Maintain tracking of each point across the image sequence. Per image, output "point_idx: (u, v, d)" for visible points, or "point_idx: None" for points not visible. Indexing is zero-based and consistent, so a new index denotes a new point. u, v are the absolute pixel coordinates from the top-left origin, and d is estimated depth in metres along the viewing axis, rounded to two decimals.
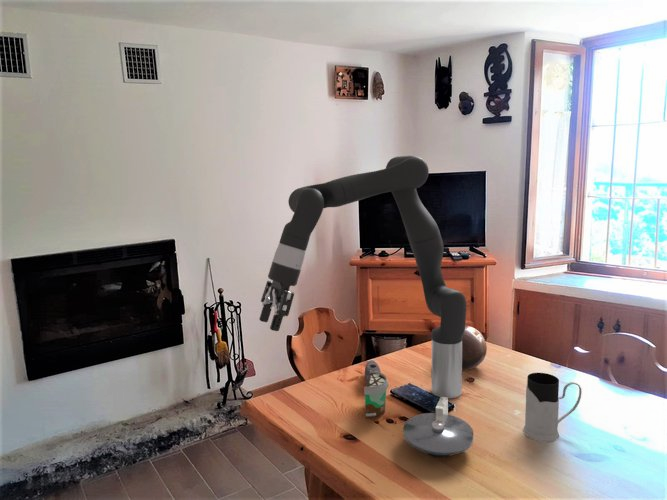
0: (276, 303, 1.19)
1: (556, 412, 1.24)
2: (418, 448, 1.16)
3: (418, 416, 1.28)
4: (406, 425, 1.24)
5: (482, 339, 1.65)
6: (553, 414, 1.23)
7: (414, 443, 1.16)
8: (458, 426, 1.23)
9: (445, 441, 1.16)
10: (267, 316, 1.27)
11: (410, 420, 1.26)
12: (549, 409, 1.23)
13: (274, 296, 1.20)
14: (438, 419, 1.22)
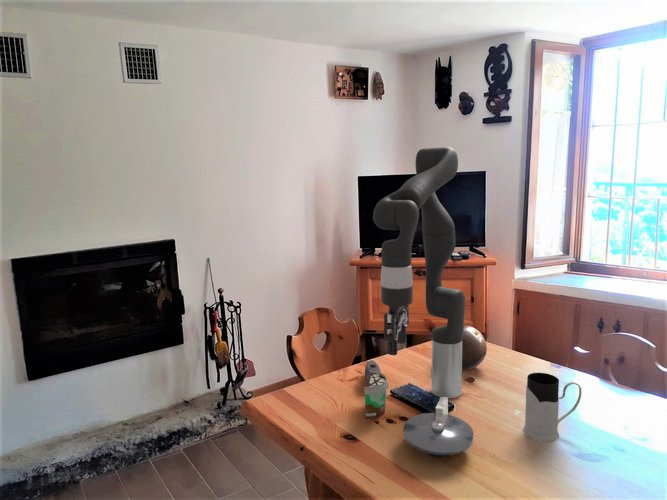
0: None
1: (556, 412, 1.24)
2: (418, 448, 1.16)
3: (418, 416, 1.28)
4: (406, 425, 1.24)
5: (482, 339, 1.65)
6: (553, 414, 1.23)
7: (414, 443, 1.16)
8: (458, 426, 1.23)
9: (445, 441, 1.16)
10: (403, 338, 1.22)
11: (410, 420, 1.26)
12: (549, 409, 1.23)
13: None
14: (438, 419, 1.22)
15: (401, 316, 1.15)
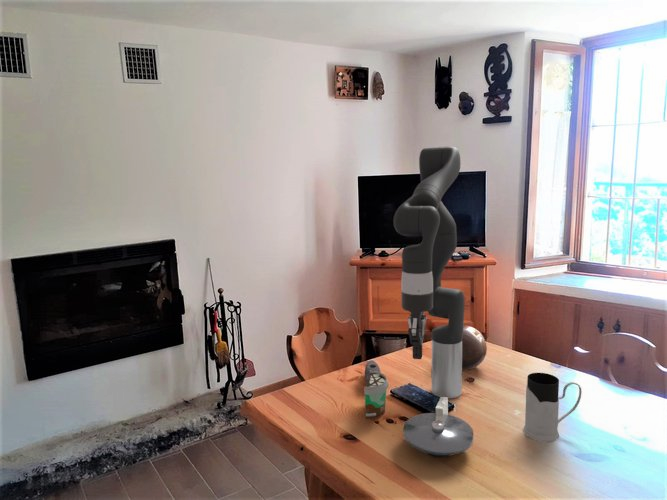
0: None
1: (556, 412, 1.24)
2: (418, 448, 1.16)
3: (418, 416, 1.28)
4: (406, 425, 1.24)
5: (482, 339, 1.65)
6: (553, 414, 1.23)
7: (414, 443, 1.16)
8: (458, 426, 1.23)
9: (445, 441, 1.16)
10: None
11: (410, 420, 1.26)
12: (549, 409, 1.23)
13: None
14: (438, 419, 1.22)
15: (423, 323, 1.16)
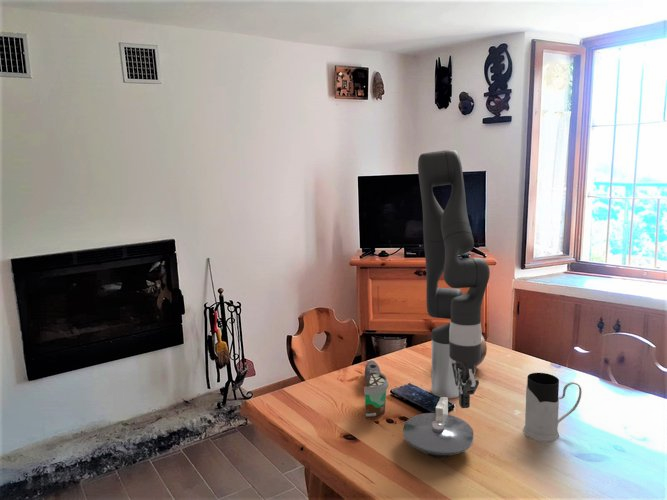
0: (461, 384, 1.18)
1: (556, 412, 1.24)
2: (418, 448, 1.16)
3: (418, 416, 1.28)
4: (406, 425, 1.24)
5: (482, 339, 1.65)
6: (553, 414, 1.23)
7: (414, 443, 1.16)
8: (458, 426, 1.23)
9: (445, 441, 1.16)
10: None
11: (410, 420, 1.26)
12: (549, 409, 1.23)
13: (459, 376, 1.18)
14: (438, 419, 1.22)
15: (474, 372, 1.18)
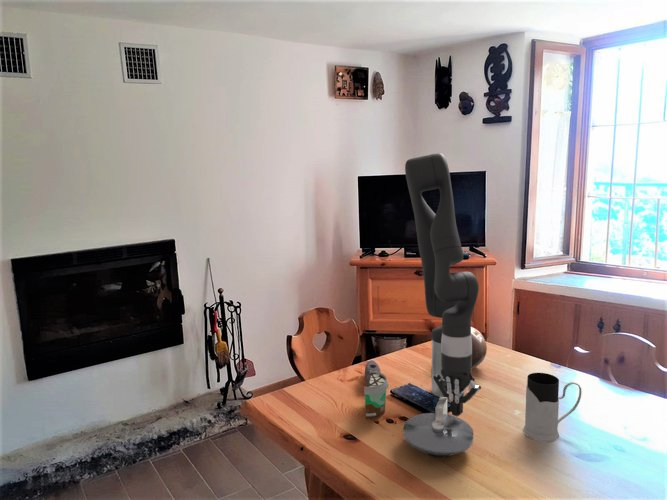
0: (459, 394, 1.23)
1: (556, 412, 1.24)
2: (418, 448, 1.15)
3: (418, 416, 1.28)
4: (406, 425, 1.24)
5: (482, 339, 1.65)
6: (553, 414, 1.23)
7: (414, 443, 1.16)
8: (458, 425, 1.23)
9: (445, 441, 1.16)
10: None
11: (410, 420, 1.26)
12: (549, 409, 1.23)
13: (457, 386, 1.22)
14: (438, 419, 1.22)
15: None
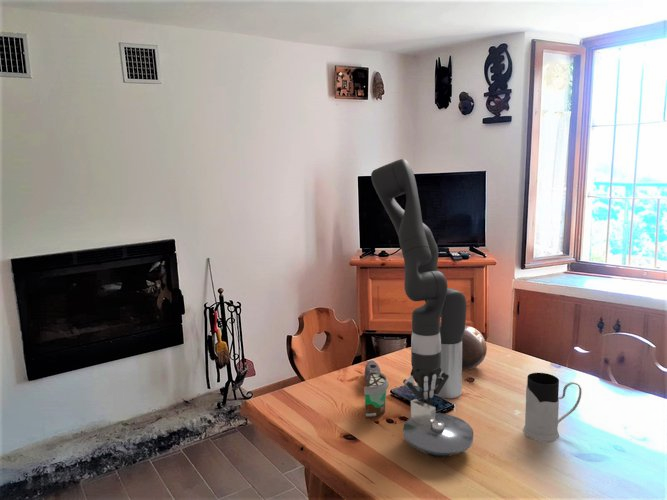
0: None
1: (556, 412, 1.24)
2: (457, 451, 1.14)
3: (407, 431, 1.21)
4: (419, 442, 1.16)
5: (482, 339, 1.65)
6: (553, 414, 1.23)
7: (452, 449, 1.13)
8: (437, 418, 1.27)
9: (460, 432, 1.20)
10: None
11: (411, 437, 1.18)
12: (549, 409, 1.23)
13: (434, 381, 1.26)
14: (432, 420, 1.22)
15: None
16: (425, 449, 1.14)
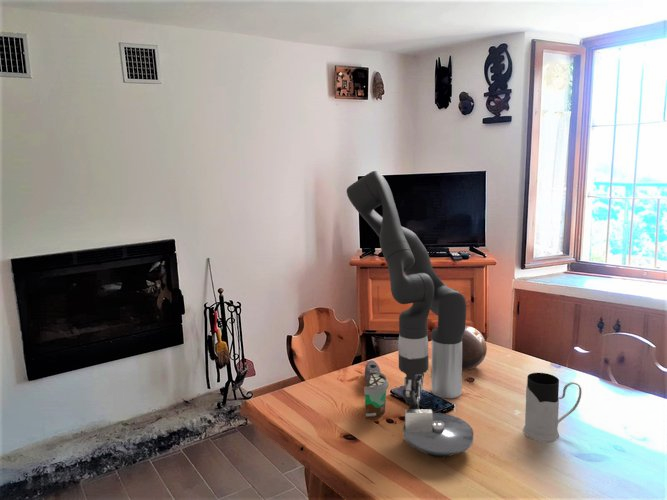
0: None
1: (556, 412, 1.24)
2: None
3: (422, 443, 1.16)
4: (446, 447, 1.14)
5: (482, 339, 1.65)
6: (553, 414, 1.23)
7: (472, 439, 1.17)
8: None
9: (454, 423, 1.24)
10: None
11: (434, 446, 1.14)
12: (549, 409, 1.23)
13: (421, 383, 1.25)
14: (431, 422, 1.21)
15: None
16: (455, 450, 1.13)
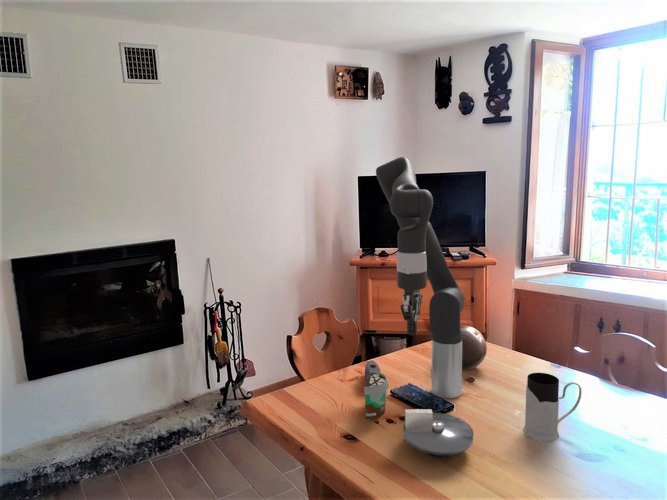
0: None
1: (556, 412, 1.24)
2: None
3: (422, 443, 1.16)
4: (446, 447, 1.14)
5: (482, 339, 1.65)
6: (553, 414, 1.23)
7: (472, 439, 1.17)
8: None
9: (454, 423, 1.24)
10: None
11: (434, 446, 1.14)
12: (549, 409, 1.23)
13: (419, 301, 1.26)
14: (431, 422, 1.21)
15: None
16: (455, 450, 1.13)
